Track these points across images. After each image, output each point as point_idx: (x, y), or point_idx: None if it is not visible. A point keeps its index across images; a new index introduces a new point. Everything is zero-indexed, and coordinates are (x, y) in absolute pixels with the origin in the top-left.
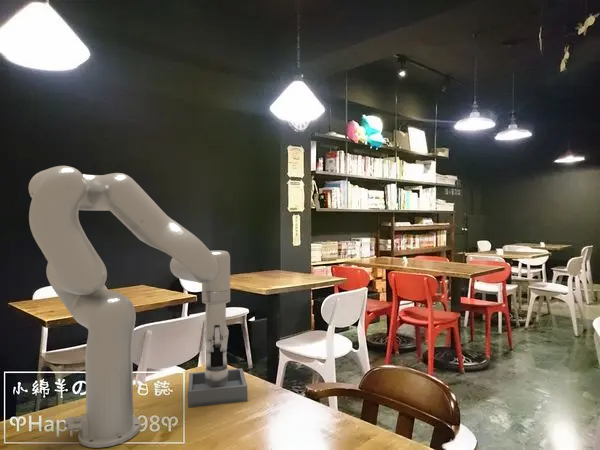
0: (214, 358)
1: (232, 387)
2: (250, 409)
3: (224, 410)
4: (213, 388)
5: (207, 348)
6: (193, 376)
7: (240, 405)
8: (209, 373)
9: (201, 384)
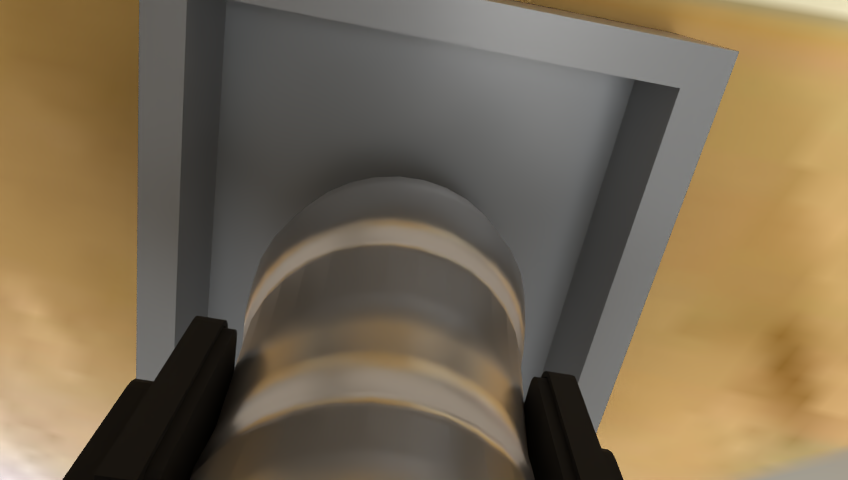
0: (92, 442)
1: (137, 374)
2: (46, 379)
3: (70, 220)
4: (161, 217)
5: (285, 476)
6: (667, 90)
7: (127, 339)
8: (289, 255)
9: (593, 148)
